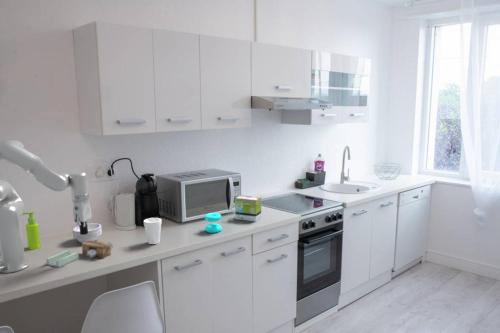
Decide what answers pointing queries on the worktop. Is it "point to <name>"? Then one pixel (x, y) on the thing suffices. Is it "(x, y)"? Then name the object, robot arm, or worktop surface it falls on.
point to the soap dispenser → (32, 232)
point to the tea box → (248, 208)
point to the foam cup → (153, 230)
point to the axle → (93, 252)
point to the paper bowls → (92, 235)
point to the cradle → (62, 259)
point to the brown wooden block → (97, 248)
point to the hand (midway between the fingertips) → (84, 233)
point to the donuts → (213, 218)
